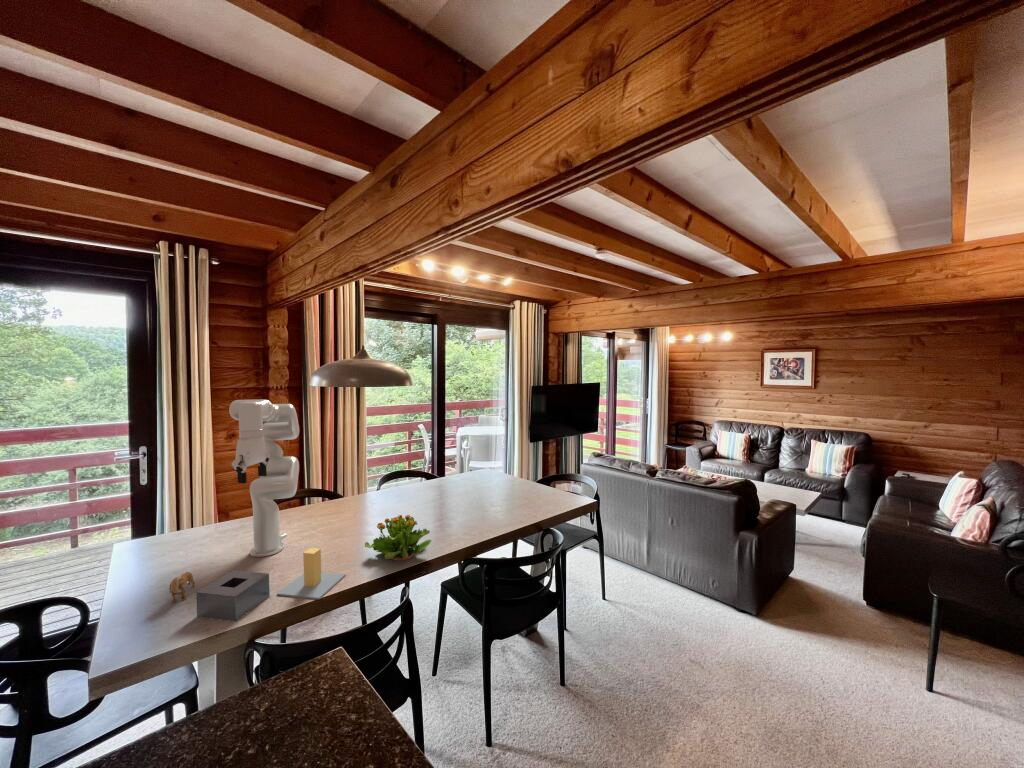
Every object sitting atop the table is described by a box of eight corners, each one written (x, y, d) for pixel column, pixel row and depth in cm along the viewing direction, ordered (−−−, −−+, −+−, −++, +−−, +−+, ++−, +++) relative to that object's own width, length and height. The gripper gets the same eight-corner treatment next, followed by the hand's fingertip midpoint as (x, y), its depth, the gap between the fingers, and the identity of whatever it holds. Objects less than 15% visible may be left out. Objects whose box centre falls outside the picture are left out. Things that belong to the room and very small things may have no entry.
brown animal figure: (187, 604, 136) (186, 578, 136) (167, 609, 133) (166, 582, 133) (197, 584, 149) (196, 559, 148) (178, 587, 146) (177, 563, 146)
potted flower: (411, 538, 188) (411, 500, 187) (446, 553, 173) (445, 512, 172) (361, 558, 169) (360, 516, 168) (395, 576, 154) (394, 531, 153)
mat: (307, 572, 157) (307, 570, 157) (345, 575, 155) (345, 574, 155) (276, 595, 141) (276, 593, 141) (319, 599, 139) (319, 597, 139)
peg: (311, 580, 150) (310, 547, 150) (321, 580, 150) (320, 548, 149) (304, 585, 146) (303, 552, 146) (314, 586, 146) (313, 553, 145)
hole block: (233, 592, 143) (233, 570, 143) (269, 596, 141) (269, 573, 140) (197, 617, 129) (196, 592, 129) (236, 621, 127) (235, 596, 127)
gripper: (260, 430, 163) (261, 473, 164) (222, 438, 146) (224, 485, 147) (276, 431, 162) (278, 473, 163) (241, 438, 145) (242, 486, 146)
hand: (252, 479), depth 155 cm, fingers open, 9 cm apart
